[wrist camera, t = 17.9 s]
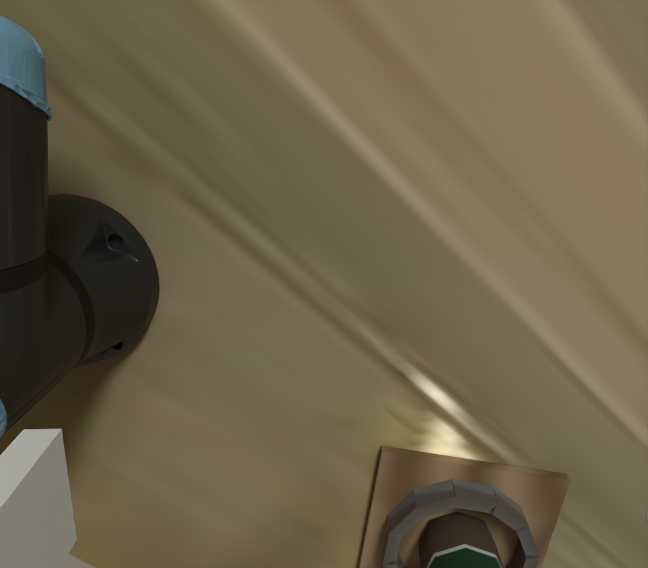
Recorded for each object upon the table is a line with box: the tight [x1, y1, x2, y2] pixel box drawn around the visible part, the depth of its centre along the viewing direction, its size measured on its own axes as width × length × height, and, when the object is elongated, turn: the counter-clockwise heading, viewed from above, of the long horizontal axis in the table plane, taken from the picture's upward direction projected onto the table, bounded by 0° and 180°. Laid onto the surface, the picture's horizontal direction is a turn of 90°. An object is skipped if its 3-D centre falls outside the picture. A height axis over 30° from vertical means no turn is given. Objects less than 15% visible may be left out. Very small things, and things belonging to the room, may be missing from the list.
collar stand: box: [358, 446, 570, 568], centre depth 53 cm, size 18×18×4 cm
